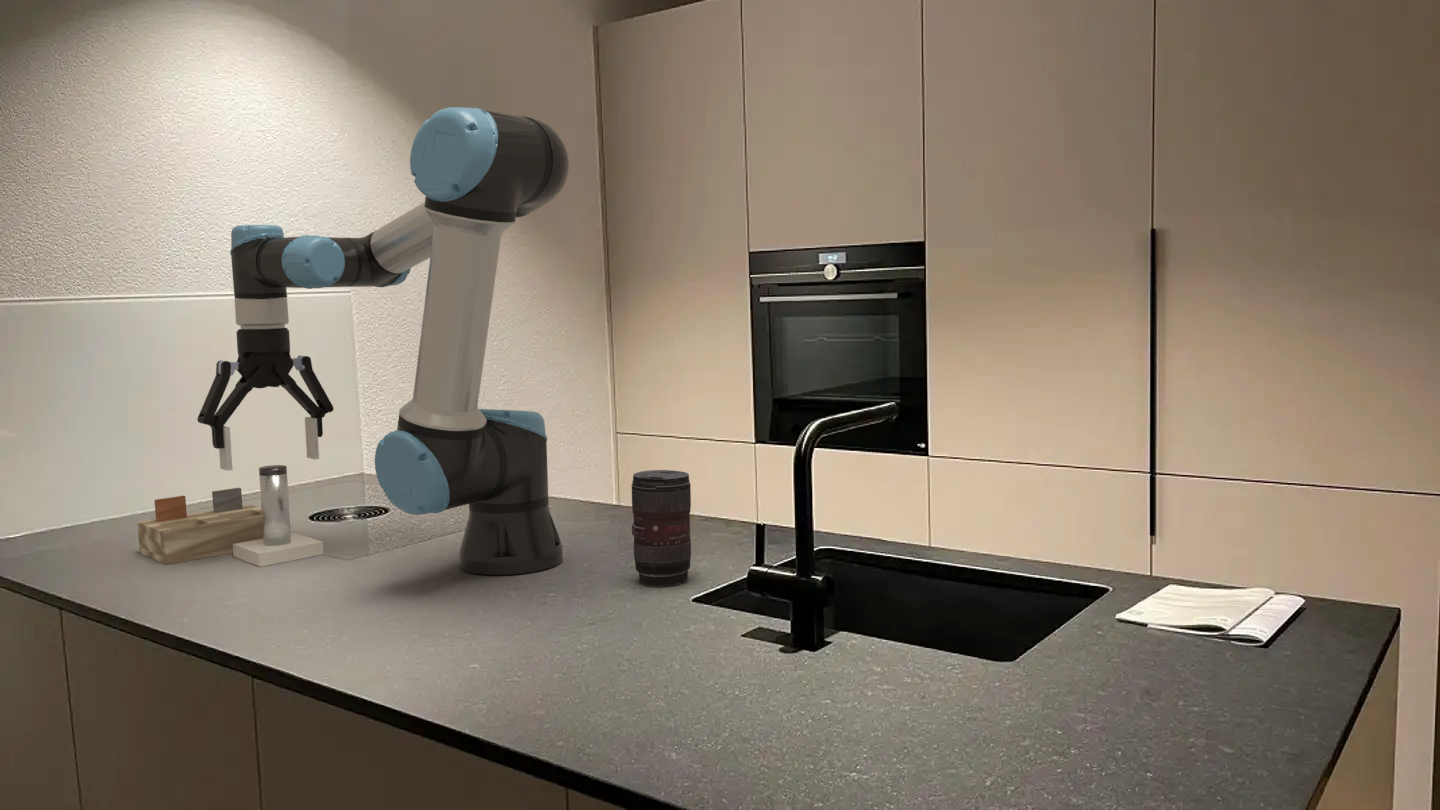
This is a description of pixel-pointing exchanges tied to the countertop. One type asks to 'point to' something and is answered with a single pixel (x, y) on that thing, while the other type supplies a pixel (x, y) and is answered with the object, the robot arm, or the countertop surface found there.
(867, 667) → the countertop surface
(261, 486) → the shaker with dark cap
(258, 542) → the plate
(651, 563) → the camera lens
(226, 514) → the socket block
